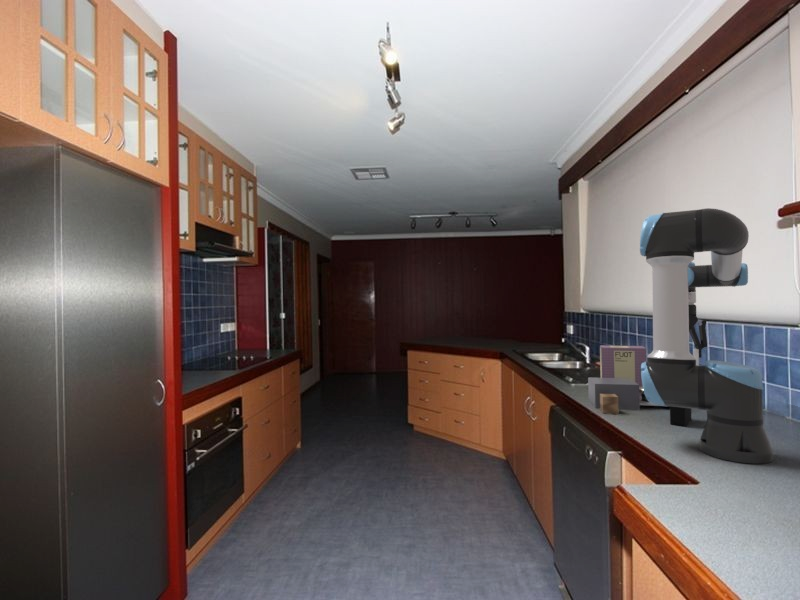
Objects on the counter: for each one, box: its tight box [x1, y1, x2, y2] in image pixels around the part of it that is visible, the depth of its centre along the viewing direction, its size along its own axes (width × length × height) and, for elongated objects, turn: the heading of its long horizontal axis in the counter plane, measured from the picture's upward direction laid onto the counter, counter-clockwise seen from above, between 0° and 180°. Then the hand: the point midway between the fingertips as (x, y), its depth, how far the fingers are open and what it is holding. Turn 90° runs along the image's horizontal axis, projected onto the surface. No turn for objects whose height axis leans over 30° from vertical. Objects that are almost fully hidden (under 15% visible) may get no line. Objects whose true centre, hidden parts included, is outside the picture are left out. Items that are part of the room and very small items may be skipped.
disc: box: [639, 386, 645, 394], centre depth 166 cm, size 8×8×2 cm
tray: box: [640, 394, 664, 407], centre depth 166 cm, size 17×14×7 cm
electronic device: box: [669, 406, 692, 427], centre depth 143 cm, size 4×10×10 cm, turn 137°
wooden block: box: [599, 394, 619, 415], centre depth 158 cm, size 5×5×6 cm
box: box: [599, 344, 647, 397], centre depth 188 cm, size 17×9×20 cm, turn 69°
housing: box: [587, 377, 641, 411], centre depth 169 cm, size 15×14×9 cm
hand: (685, 366), depth 163 cm, fingers open, 6 cm apart
